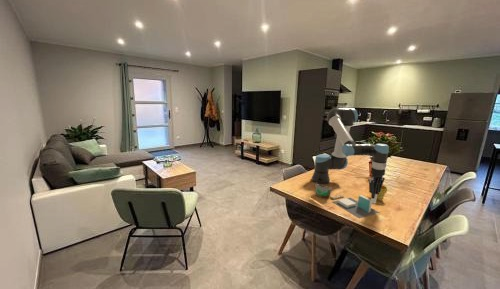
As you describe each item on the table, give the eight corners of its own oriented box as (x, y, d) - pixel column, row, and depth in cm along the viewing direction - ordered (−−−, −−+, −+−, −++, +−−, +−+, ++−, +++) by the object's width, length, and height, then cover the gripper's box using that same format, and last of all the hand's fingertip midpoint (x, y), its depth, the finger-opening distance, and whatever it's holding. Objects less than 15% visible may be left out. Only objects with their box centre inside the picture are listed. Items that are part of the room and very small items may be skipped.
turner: (334, 202, 145) (335, 199, 145) (328, 198, 151) (328, 195, 150) (353, 198, 152) (353, 195, 152) (346, 194, 158) (346, 191, 157)
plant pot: (370, 194, 159) (372, 182, 157) (386, 198, 153) (388, 186, 150) (367, 199, 151) (369, 186, 149) (384, 203, 145) (386, 190, 143)
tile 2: (357, 206, 137) (358, 195, 136) (359, 206, 138) (360, 195, 136) (368, 212, 130) (369, 200, 128) (370, 212, 131) (372, 200, 129)
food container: (311, 196, 153) (312, 183, 151) (315, 194, 157) (316, 181, 155) (327, 202, 145) (328, 189, 143) (331, 199, 149) (332, 186, 147)
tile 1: (346, 200, 145) (337, 202, 142) (346, 198, 145) (337, 200, 142) (355, 206, 138) (347, 208, 135) (356, 203, 138) (347, 205, 135)
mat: (331, 203, 143) (331, 201, 143) (350, 199, 150) (350, 197, 150) (359, 220, 124) (359, 218, 123) (379, 214, 131) (379, 212, 131)
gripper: (377, 171, 126) (371, 207, 131) (391, 168, 131) (385, 203, 136) (366, 167, 133) (361, 201, 137) (379, 165, 138) (374, 198, 143)
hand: (373, 202), depth 137 cm, fingers closed
